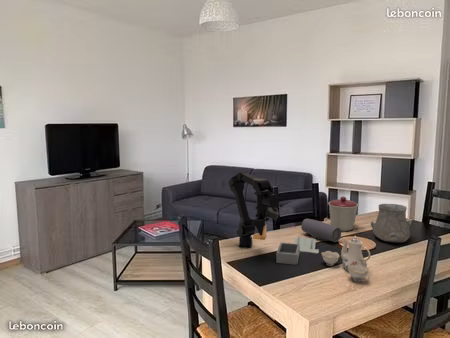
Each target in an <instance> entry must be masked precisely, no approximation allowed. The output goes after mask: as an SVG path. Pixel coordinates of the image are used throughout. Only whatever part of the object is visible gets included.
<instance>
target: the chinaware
mask: <svg viewBox="0 0 450 338" xmlns="http://www.w3.org/2000/svg"><path fill="white" fill-rule="evenodd" d="M342 238H343V241H344V242H343V245H342V249H341V251H340V254H339V253H338V252H336V251H333V252H332V251H331V250H326V251H324V252H323V251H321V253H320V254H321V256H322V259H323V261H324V262H325V263H326V266H328V267H333V266H334V265H335V264H337V262H338V260H339V258H341V259H342V261H341V264H342V265H343V267H344V270H345V271H346V272H348V273H349V276H350V277H351V278H352V279H353V281H354V282H364V281H365V282H369V280H370V275H369V274H368V272H369V268H368V267H367V266H368V263H367V262H368V261H369V260H370V258H371V251H370V249H368V247H366V246H364V245H363V243H364V242H363V241H362V240H360V239H359V238H358V237H357V236H356V235H354V236H353V238H351V239H348V240H347V238H346V237H345V236H344V237H342ZM364 249H365V250H366V252H367V254H368V257H367V258H366V259H365V258H364V256H363V250H364ZM366 276H367V278H368V279H365V277H366Z"/></svg>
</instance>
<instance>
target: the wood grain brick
mask: <svg viewBox="0 0 450 338" xmlns="http://www.w3.org/2000/svg"><path fill="white" fill-rule="evenodd" d="M266 239H267V224H266V225H265V226H264V228H263V234H262V236H260V234H259V232H258V233H257V232H254V235H252V240H258V241H259V240H260V241H261V240H262V241H266Z"/></svg>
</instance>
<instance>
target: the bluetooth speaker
mask: <svg viewBox="0 0 450 338" xmlns="http://www.w3.org/2000/svg"><path fill="white" fill-rule="evenodd" d="M300 225H301V226H300V227H301V231H302V232H304V233H306V234H308V235H311V236H312V238H313V239H317V240H320V241H324V242H330V241H331V242H333V243H337V242H338V241H339V240H340V239H341V237H342V231H341V230H340V228H338V227H336V226H333V225H331V223H327V222H324V221H321V220H317V219H311V218H305V219H303V220H302V222H301V224H300Z"/></svg>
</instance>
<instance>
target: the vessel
mask: <svg viewBox="0 0 450 338" xmlns="http://www.w3.org/2000/svg"><path fill="white" fill-rule="evenodd" d="M407 209H408V208H407V206H406V205H402V204H396V203H380V204H379V205H378V213H377V217H376V221H375V223H374V221H371V222H370V226H371V229H372V230H373V234H374V235H375V237H377V238H378V239H379V240H381V241H383V242H388V243H397V244H398V243H399V244H400V243H405V242H406V241H407V240H408V239H410V235H411V231H410V228H411V225H412V220H410V219H409V220H407V217H406V216H407V215H406V213H407Z"/></svg>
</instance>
